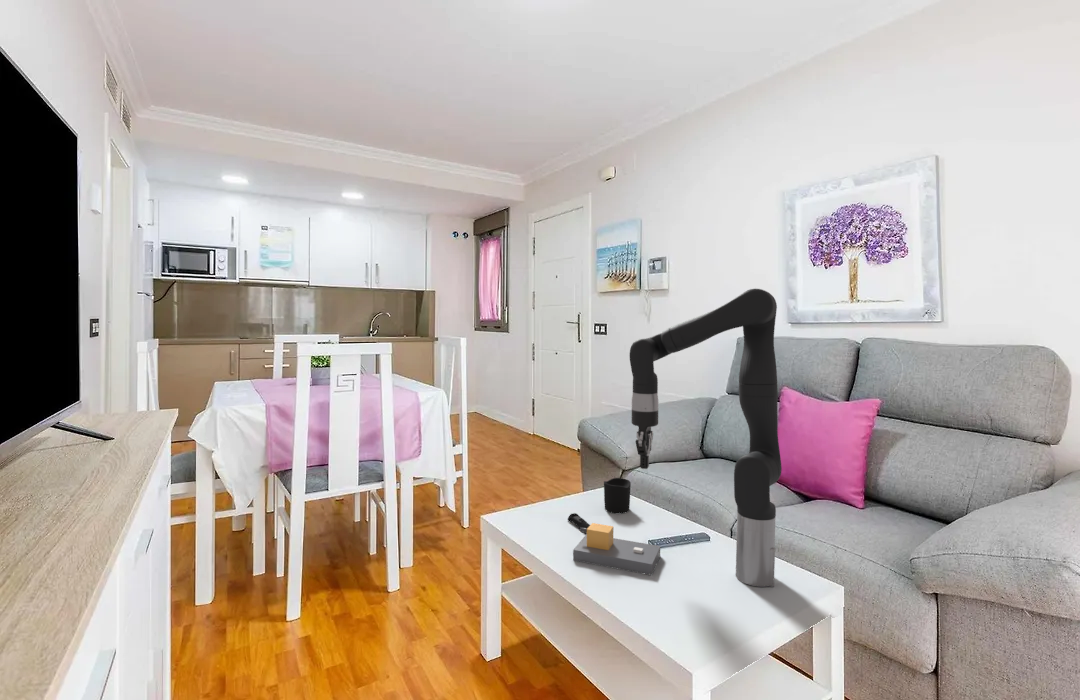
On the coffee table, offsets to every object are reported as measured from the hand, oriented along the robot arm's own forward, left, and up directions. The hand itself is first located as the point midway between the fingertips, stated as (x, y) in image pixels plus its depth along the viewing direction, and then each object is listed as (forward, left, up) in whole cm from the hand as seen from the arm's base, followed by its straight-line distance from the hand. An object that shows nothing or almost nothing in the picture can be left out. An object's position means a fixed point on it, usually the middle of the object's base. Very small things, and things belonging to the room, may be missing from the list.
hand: (644, 467), depth 151 cm
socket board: (+6, +7, -25) cm, 26 cm away
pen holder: (+16, -30, -25) cm, 42 cm away
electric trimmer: (+22, -10, -25) cm, 35 cm away
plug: (+12, +7, -25) cm, 29 cm away
